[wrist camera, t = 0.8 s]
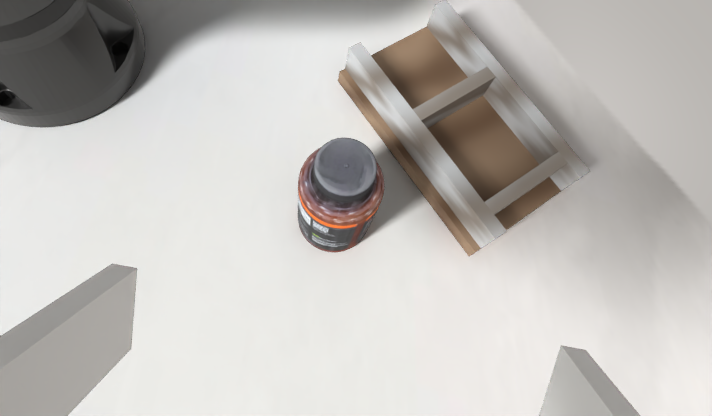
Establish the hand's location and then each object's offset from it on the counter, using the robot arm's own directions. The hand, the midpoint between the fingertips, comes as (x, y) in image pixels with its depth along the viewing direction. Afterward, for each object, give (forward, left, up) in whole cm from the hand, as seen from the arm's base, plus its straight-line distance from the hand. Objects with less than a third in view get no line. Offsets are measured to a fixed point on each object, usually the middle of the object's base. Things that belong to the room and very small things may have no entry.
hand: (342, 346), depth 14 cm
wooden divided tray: (-9, +22, -23) cm, 33 cm away
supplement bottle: (-8, +8, -23) cm, 26 cm away
